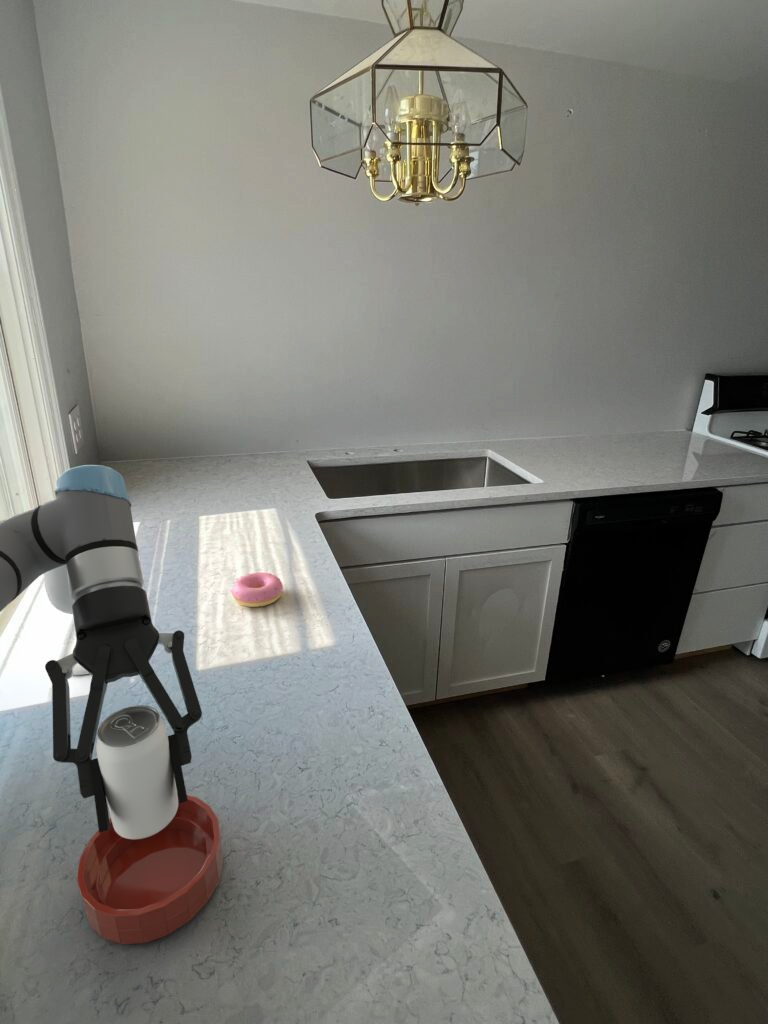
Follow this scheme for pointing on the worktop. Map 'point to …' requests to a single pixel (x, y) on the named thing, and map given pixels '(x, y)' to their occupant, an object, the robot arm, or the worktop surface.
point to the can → (137, 771)
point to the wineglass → (61, 598)
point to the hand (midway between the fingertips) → (145, 815)
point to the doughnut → (257, 589)
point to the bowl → (151, 876)
